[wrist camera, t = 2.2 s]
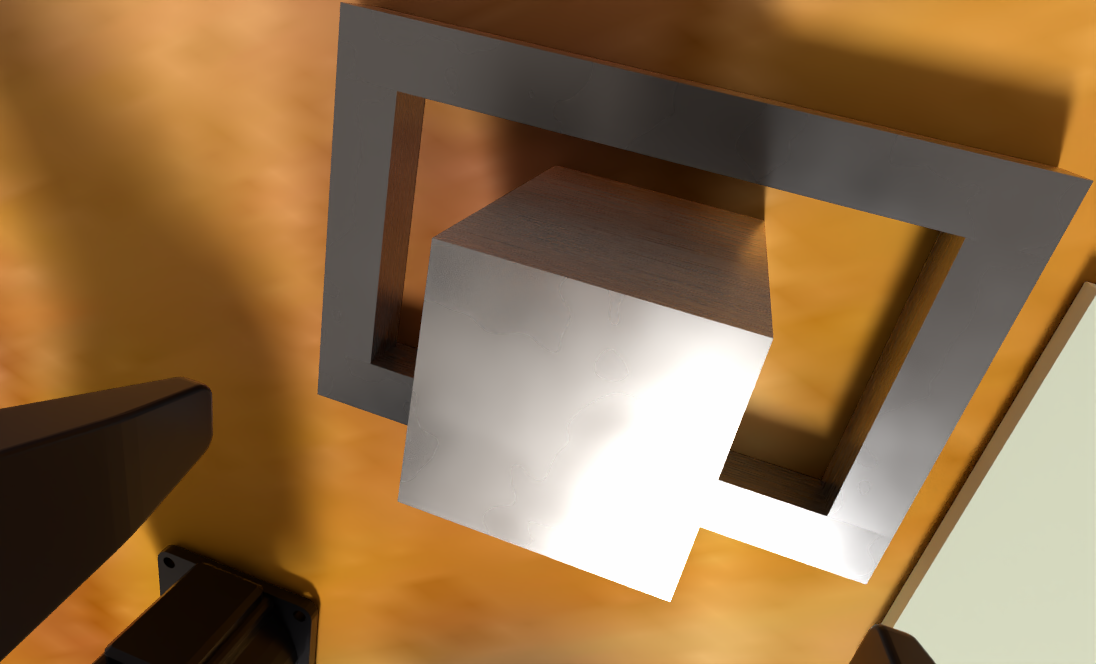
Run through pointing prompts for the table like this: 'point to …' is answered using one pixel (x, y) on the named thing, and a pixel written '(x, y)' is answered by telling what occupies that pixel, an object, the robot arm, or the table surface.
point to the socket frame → (724, 148)
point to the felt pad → (1021, 526)
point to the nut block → (586, 371)
